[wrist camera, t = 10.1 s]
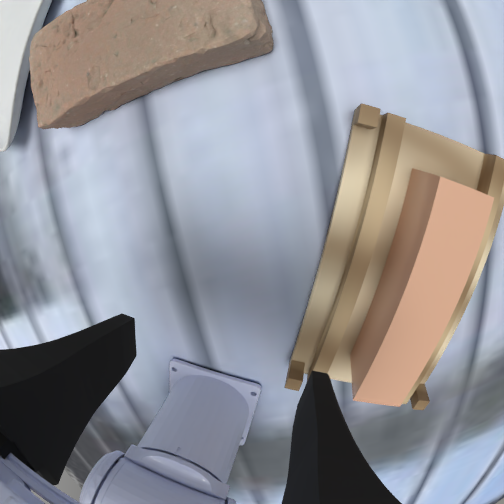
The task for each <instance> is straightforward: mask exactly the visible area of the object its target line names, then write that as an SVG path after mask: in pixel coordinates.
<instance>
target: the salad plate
mask: <svg viewBox="0 0 504 504" xmlns="http://www.w3.org/2000/svg"><path fill="white" fill-rule="evenodd" d="M51 2H52V0H0V151H1V152H4V151H6V150H7V149H8V148H9V146H10V145H11V143H12V141H13V139H14V137H15V134H16V131H17V127H18V124H19V119H20V114H21V109H22V103H23V97H24V91H25V87H26V83H27V78H28V74H29V70H30V62H29V57H30V45H31V41H32V39H33V37H34V35H35V34H36V33H37V32H38V31H40V30H41V29H42V26H43V23H44V20H45V17H46V15H47V12H48V10H49V7H50V5H51Z"/></svg>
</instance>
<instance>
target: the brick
mask: <svg viewBox="0 0 504 504" xmlns="http://www.w3.org/2000/svg"><path fill="white" fill-rule="evenodd" d="M271 33H272V27H271V25H270V24H269V22H268V20H267V15H266V13H265V8H264V4H263V2H262V1H261V0H87V1H86V2H84V3H81V4H79V5H77V6H75V7H74V8H73V9H71V10H68V11H66V12H65V13H63V14H62V15H60V16H58V17H57V18H56V19H55V20H53V21H52V22H50V23H49V24H47V25H46V26H45V27H43V28H42V29H41V30H40V31H38V32H37V33H36V34H35V35H34V37H33V39H32V41H31V45H30V57H29V62H30V74H31V88H32V93H33V97H34V102H35V105H36V109H37V120H38V127H40V128H42V129H49V128H57V129H58V128H62V127H66V128H70V127H77V126H80V125H83V124H85V123H87V122H89V121H90V120H92V119H95V118H97V117H99V116H100V115H101V114H102V113H103V112H104V111H106V110H115V109H116V108H118V107H119V106H120V105H122V104H125V103H127V102H129V101H131V100H134V99H136V98H138V97H140V96H143V95H146V94H148V93H150V92H151V91H153V90H155V89H159V88H162V87H164V86H166V85H168V84H170V83H172V82H174V81H178V80H181V79H184V78H187V77H190V76H192V75H194V74H197V73H199V72H201V71H204V70H209V69H214V68H218V67H221V66H226V65H231V64H234V63H238V62H241V61H243V60H246V59H249V58H254V57H257V56H260V55H263V54H267V53H269V52H271V51H272V49H273V39H272V34H271Z"/></svg>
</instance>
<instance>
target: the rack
mask: <svg viewBox="0 0 504 504" xmlns="http://www.w3.org/2000/svg"><path fill="white" fill-rule="evenodd" d="M405 121H406V118H403V117H400V116H397V115H394V114H390V113H386V114H384V115H380V109H379V108H376V107H372V106H369V105H365V104H360V105H359V106H358V107H357V108H356V109H355V111H354V116H353V121H352V127H351V132H350V137H349V142H348V147H347V151H346V156H345V161H344V165H343V170H342V175H341V179H340V183H339V188H338V192H337V196H336V201H335V205H334V209H333V213H332V217H331V221H330V225H329V229H328V233H327V237H326V241H325V244H324V248H323V252H322V256H321V259H320V263H319V267H318V270H317V274H316V277H315V281H314V284H313V288H312V291H311V295H310V298H309V302H308V305H307V308H306V312H305V315H304V318H303V321H302V325H301V328H300V331H299V334H298V337H297V341H296V344H295V347H294V350H293V353H292V356H291V359H290V363H289V368H288V373H287V378H286V384H285V388H288V389H292V390H296V391H299V389H300V387H301V384H302V382H303V374H304V373H305V374H308V377H307V382H308V379H309V377H310V374H311V372H312V370H313V371H318V372H323V373H327V374H328V375H329V377H330V379H334V380H339V381H345V382H350V383H352V375H351V361H350V354H351V352H352V349H353V347H354V345H355V342H356V340H357V338H358V335H359V333H360V330H361V328H362V326H363V323H364V321H365V318H366V316H367V313H368V310H369V308H370V305H371V303H372V300H373V297H374V295H375V292H376V289H377V286H378V284H379V281H380V278H381V275H382V272H383V269H384V266H385V263H386V260H387V257H388V254H389V251H390V248H391V245H392V242H393V238H394V235H395V232H396V228H397V225H398V221H399V218H400V214H401V211H402V207H403V203H404V199H405V196H406V192H407V188H408V184H409V179H410V175H411V171H412V168H414V169H417V170H421V171H424V172H427V173H431V174H434V175H437V176H440V177H443V178H446V179H449V180H451V181H454V182H457V183H459V184H462V185H464V186H467V187H470V188H472V189H475V190H477V191H479V192H482V193H484V194H487V195H489V196H491V197H494V201H493V205H492V209H491V212H490V216H489V219H488V223H487V226H486V229H485V232H484V235H483V238H482V242H481V244H480V247H479V250H478V253H477V256H476V259H475V261H474V264H473V267H472V269H471V272H470V275H469V277H468V280H467V282H466V284H465V287H464V289H463V292H462V294H461V296H460V299H459V301H458V303H457V305H456V307H455V310H454V312H453V314H452V316H451V318H450V320H449V322H448V324H447V326H446V328H445V330H444V332H443V334H442V336H441V338H440V340H439V342H438V344H437V346H436V348H435V349H434V351H433V353H432V355H431V357H430V359H429V360H428V362H427V364H426V366H425V367H424V369H423V371H422V372H421V374H420V376H419V377H418V379H417V381H416V382H415V384H414V385H413V387H412V389H411V390H410V392H409V393H408V395H407V396H406V398H405V399H404V401H403V402H402V404H407V402H408V401H409V399H410V400H411V404H412V408H413V409H415V410H424V409H425V407H426V406H427V405H428V403H429V402H430V401H429V397H428V394H427V391H426V387H425V382H426V381H427V379H428V378H429V376H430V374H431V373H432V371H433V369H434V368H435V366H436V364H437V363H438V361H439V359H440V358H441V356H442V354H443V352H444V350H445V349H446V347H447V345H448V343H449V341H450V339H451V338H452V336H453V334H454V332H455V330H456V328H457V326H458V324H459V322H460V320H461V318H462V316H463V314H464V312H465V309H466V307H467V305H468V303H469V301H470V299H471V296H472V294H473V292H474V289H475V287H476V285H477V282H478V280H479V277H480V275H481V272H482V270H483V267H484V265H485V262H486V259H487V257H488V254H489V251H490V248H491V245H492V242H493V239H494V236H495V233H496V230H497V227H498V223H499V220H500V217H501V213H502V210H503V206H504V159H503V158H501V157H499V156H497V155H490V154H484V153H482V152H479V151H477V150H475V149H473V148H471V147H468V146H466V145H464V144H461V143H459V142H456V141H454V140H452V139H449V138H447V137H444V136H441V135H439V134H436V133H434V132H431V131H428V130H425V129H423V128H420V127H417V126H414V125H411V124H408V123H405Z"/></svg>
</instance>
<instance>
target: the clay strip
mask: <svg viewBox="0 0 504 504" xmlns="http://www.w3.org/2000/svg"><path fill="white" fill-rule="evenodd" d="M493 201H494V197H491V196H489V195H487V194H484V193H482V192H479V191H477V190H475V189H472V188H470V187H467V186H464V185H462V184H459V183H457V182H454V181H451V180H449V179H446V178H443V177H440V176H437V175H434V174H431V173H427V172H424V171H421V170H417V169H414V168H412V171H411V175H410V179H409V184H408V188H407V192H406V196H405V199H404V203H403V207H402V211H401V214H400V218H399V221H398V225H397V228H396V232H395V235H394V238H393V242H392V245H391V248H390V251H389V254H388V257H387V260H386V263H385V266H384V269H383V272H382V275H381V278H380V281H379V284H378V286H377V289H376V292H375V295H374V297H373V300H372V303H371V305H370V308H369V310H368V313H367V316H366V318H365V321H364V323H363V326H362V328H361V330H360V333H359V335H358V338H357V340H356V342H355V345H354V347H353V349H352V352H351V354H350V361H351V375H352V393H353V400H354V401H361V402H367V403H374V404H382V405H390V406H398V407H400V405H401V404H402V402H403V401H404V399H405V398H406V396H407V395H408V393H409V392H410V390H411V389H412V387H413V385H414V384H415V382H416V381H417V379H418V377H419V376H420V374H421V372H422V371H423V369H424V367H425V366H426V364H427V362H428V360H429V359H430V357H431V355H432V353H433V351H434V349H435V348H436V346H437V344H438V342H439V340H440V338H441V336H442V334H443V332H444V330H445V328H446V326H447V324H448V322H449V320H450V318H451V316H452V314H453V312H454V310H455V307H456V305H457V303H458V301H459V299H460V296H461V294H462V292H463V289H464V287H465V284H466V282H467V280H468V277H469V275H470V272H471V269H472V267H473V264H474V261H475V259H476V256H477V253H478V250H479V247H480V244H481V242H482V238H483V235H484V232H485V229H486V226H487V223H488V219H489V216H490V212H491V209H492V205H493Z"/></svg>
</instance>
